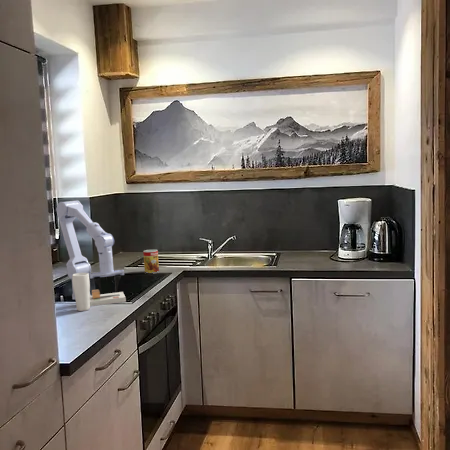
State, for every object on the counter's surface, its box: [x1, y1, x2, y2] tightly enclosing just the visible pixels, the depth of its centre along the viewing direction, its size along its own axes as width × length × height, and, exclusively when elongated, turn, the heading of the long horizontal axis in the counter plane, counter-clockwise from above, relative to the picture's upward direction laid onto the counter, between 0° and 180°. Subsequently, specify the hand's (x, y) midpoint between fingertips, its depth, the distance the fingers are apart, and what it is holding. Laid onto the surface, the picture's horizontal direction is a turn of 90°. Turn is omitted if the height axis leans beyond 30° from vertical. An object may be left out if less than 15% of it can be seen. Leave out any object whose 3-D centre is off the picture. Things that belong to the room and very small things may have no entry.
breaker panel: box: [90, 291, 127, 307], centre depth 235 cm, size 11×16×2 cm
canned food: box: [142, 249, 160, 273], centre depth 295 cm, size 8×8×12 cm
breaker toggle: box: [91, 288, 100, 299], centre depth 234 cm, size 5×3×3 cm, turn 17°
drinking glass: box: [71, 273, 91, 312], centre depth 222 cm, size 7×7×15 cm
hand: (108, 292), depth 235 cm, fingers open, 6 cm apart
